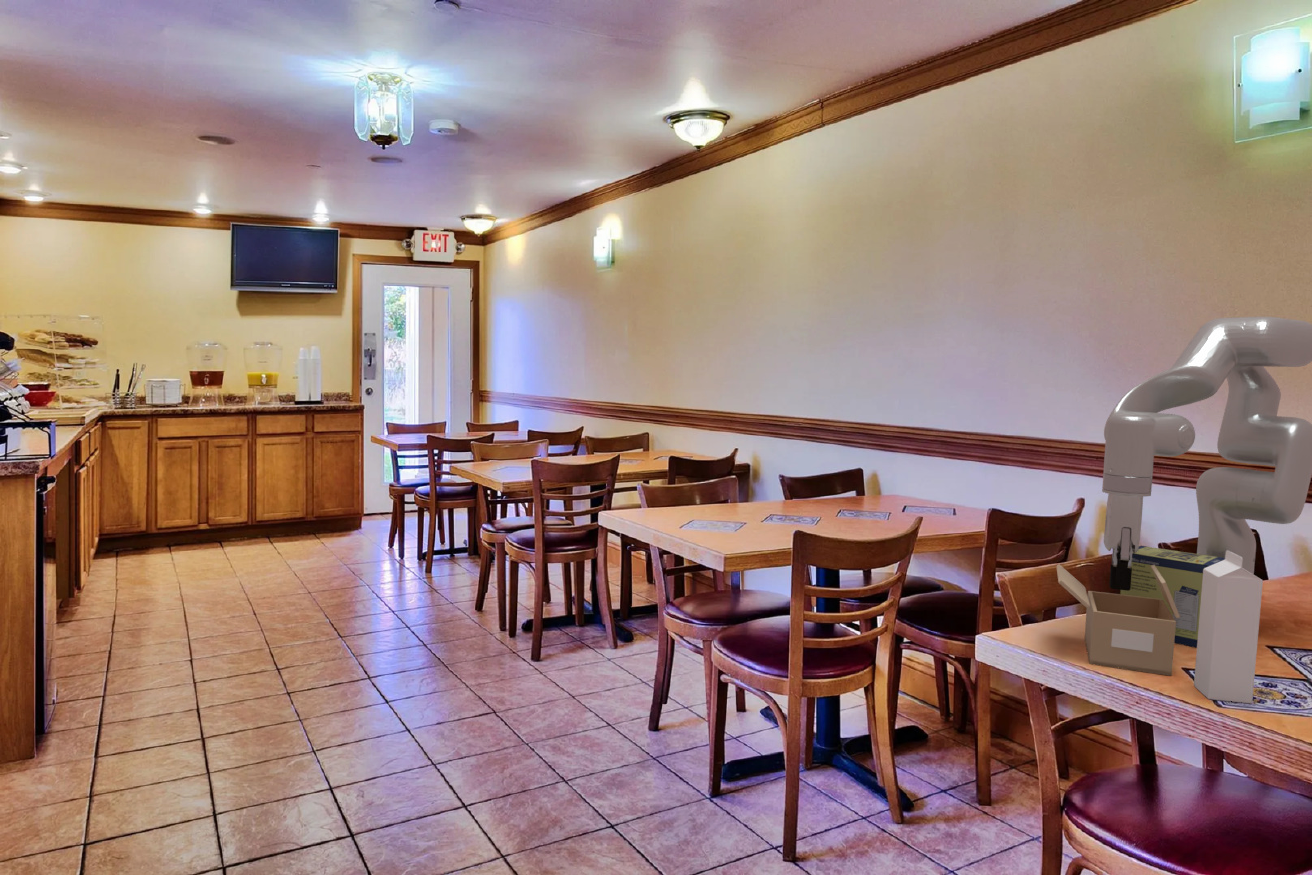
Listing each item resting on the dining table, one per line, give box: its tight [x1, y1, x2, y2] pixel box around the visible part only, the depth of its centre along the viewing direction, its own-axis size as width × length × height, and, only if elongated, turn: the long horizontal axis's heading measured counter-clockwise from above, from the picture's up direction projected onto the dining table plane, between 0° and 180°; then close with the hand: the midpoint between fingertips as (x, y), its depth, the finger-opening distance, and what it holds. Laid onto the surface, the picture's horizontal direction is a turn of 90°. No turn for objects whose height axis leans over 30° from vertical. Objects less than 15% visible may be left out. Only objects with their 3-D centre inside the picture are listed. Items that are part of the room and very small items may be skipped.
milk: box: [1193, 550, 1264, 704], centre depth 133 cm, size 6×6×22 cm
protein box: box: [1119, 545, 1225, 649], centre depth 165 cm, size 10×16×16 cm
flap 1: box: [1056, 563, 1090, 609], centre depth 154 cm, size 15×1×6 cm
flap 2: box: [1151, 565, 1180, 618], centre depth 148 cm, size 15×1×6 cm, turn 157°
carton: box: [1084, 590, 1176, 677], centre depth 151 cm, size 16×12×9 cm
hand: (1119, 588), depth 153 cm, fingers closed
